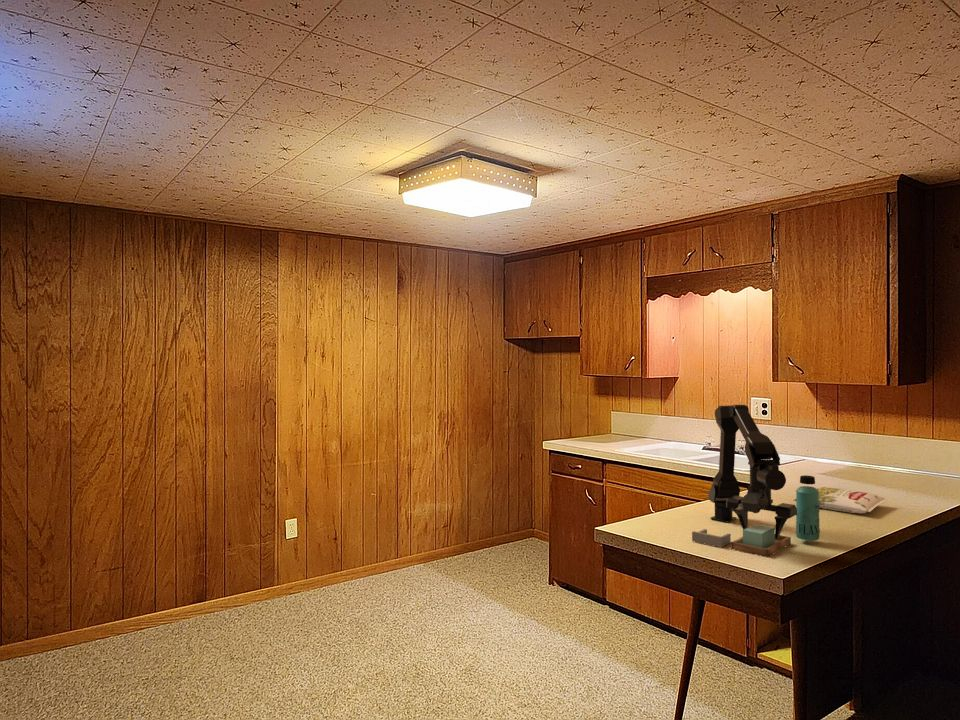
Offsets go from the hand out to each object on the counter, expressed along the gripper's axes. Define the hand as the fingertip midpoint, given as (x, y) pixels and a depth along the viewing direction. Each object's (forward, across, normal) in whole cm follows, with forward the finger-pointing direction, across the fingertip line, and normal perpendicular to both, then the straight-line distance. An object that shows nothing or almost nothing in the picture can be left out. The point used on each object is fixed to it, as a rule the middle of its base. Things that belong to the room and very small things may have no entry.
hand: (760, 535), depth 192 cm
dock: (+3, -12, -5) cm, 14 cm away
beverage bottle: (+4, +8, +13) cm, 16 cm away
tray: (+3, 0, 0) cm, 3 cm away
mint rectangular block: (+3, 0, -1) cm, 3 cm away
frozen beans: (+4, +2, +64) cm, 64 cm away
